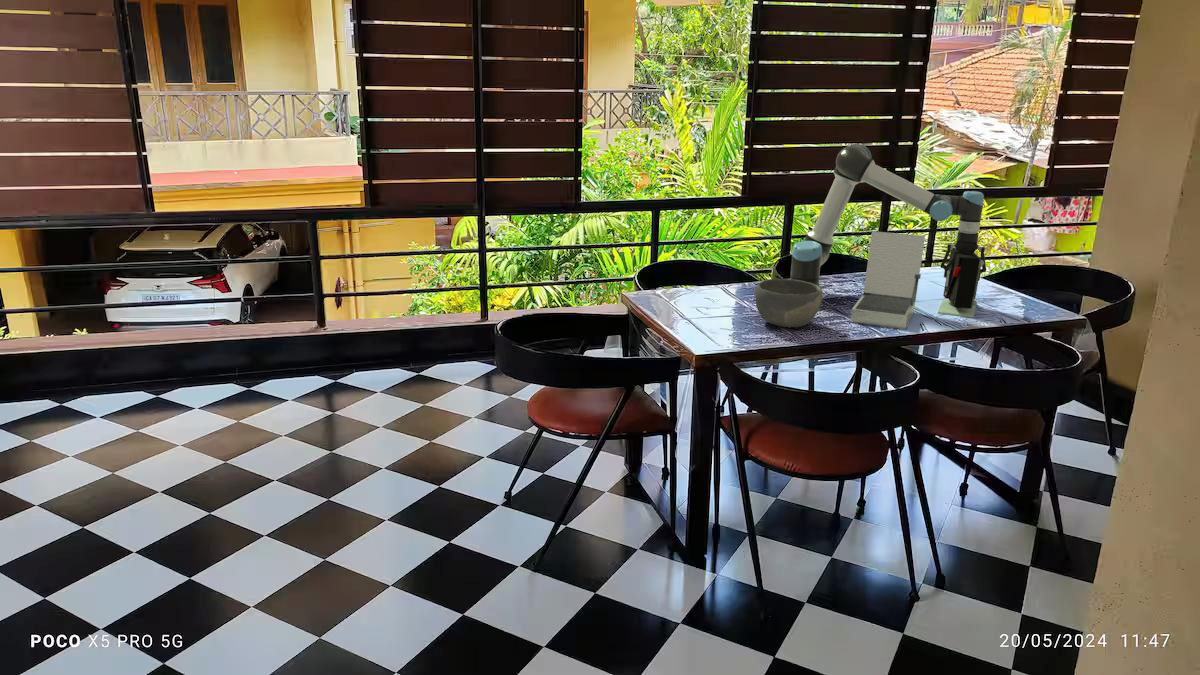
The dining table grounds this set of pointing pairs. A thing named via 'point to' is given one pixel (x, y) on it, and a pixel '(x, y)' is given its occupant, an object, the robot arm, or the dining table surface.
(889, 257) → the case
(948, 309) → the mat
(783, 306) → the bowl
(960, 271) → the electrical component
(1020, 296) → the dining table surface
